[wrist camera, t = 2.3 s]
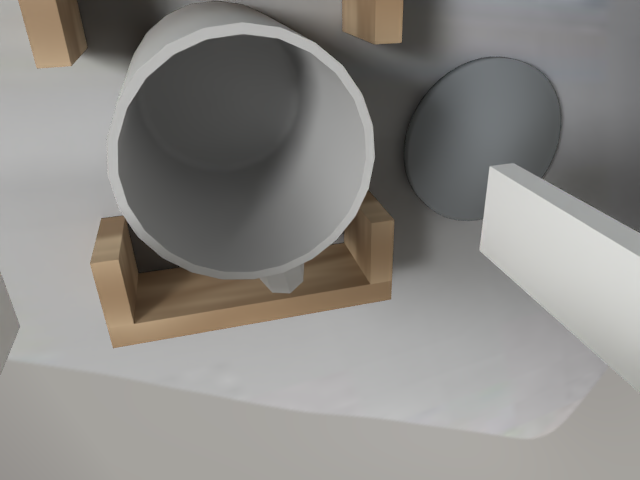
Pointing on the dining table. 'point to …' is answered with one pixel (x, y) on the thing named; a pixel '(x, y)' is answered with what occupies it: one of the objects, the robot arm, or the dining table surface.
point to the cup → (238, 145)
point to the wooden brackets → (208, 292)
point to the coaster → (479, 133)
